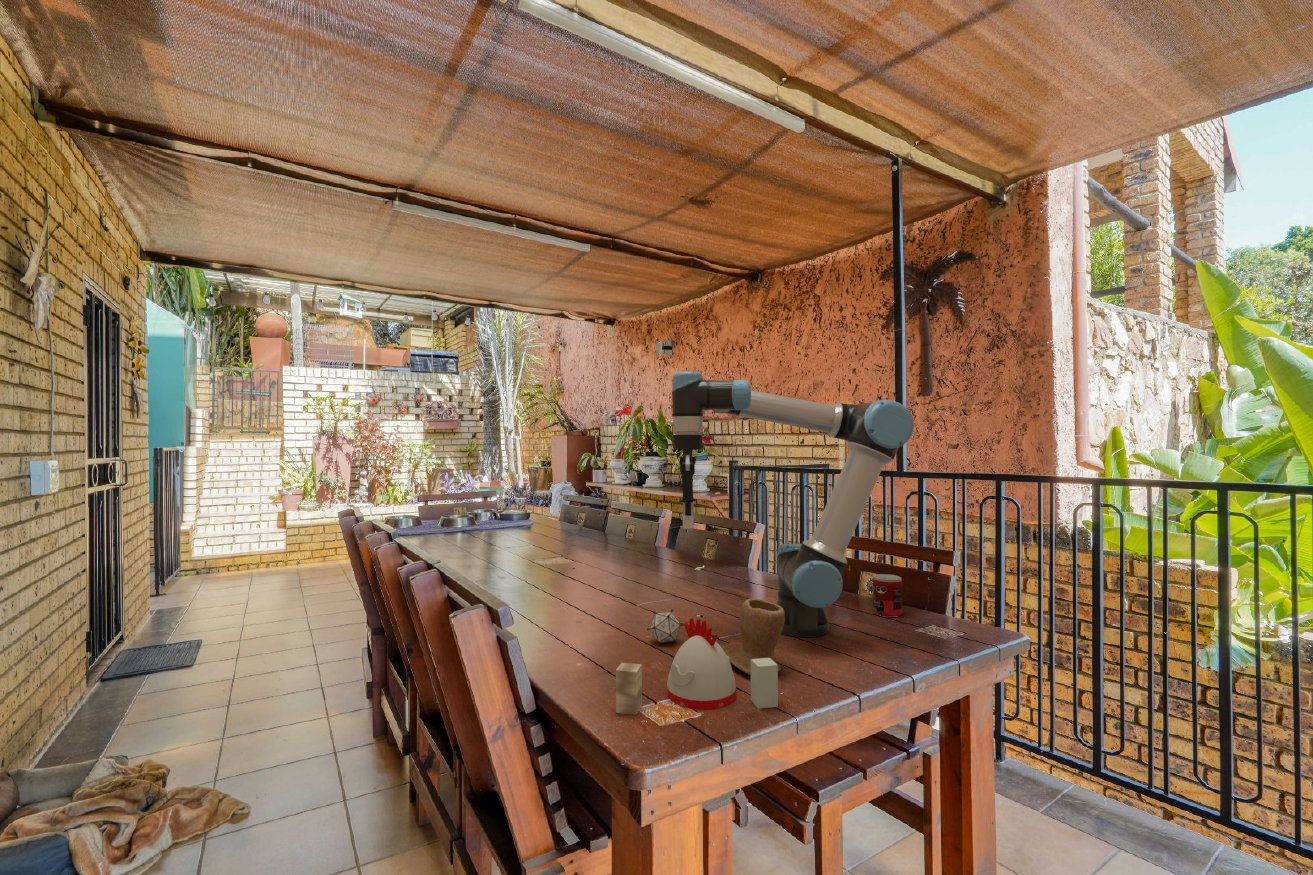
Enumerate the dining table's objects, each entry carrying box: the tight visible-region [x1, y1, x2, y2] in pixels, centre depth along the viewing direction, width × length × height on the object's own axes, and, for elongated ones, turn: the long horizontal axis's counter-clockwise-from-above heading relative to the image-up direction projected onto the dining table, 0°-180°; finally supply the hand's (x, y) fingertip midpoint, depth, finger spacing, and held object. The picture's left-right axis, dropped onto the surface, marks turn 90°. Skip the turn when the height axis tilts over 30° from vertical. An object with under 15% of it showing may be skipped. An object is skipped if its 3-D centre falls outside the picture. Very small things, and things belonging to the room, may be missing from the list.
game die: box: [646, 608, 685, 647], centre depth 152 cm, size 9×8×10 cm
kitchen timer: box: [666, 617, 737, 710], centre depth 121 cm, size 14×14×15 cm
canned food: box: [872, 573, 903, 617], centre depth 176 cm, size 8×8×11 cm
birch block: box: [615, 662, 643, 716], centre depth 114 cm, size 4×4×8 cm
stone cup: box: [720, 598, 785, 676], centre depth 135 cm, size 15×12×15 cm
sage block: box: [750, 658, 779, 710], centre depth 116 cm, size 4×4×8 cm
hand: (688, 528), depth 149 cm, fingers closed
